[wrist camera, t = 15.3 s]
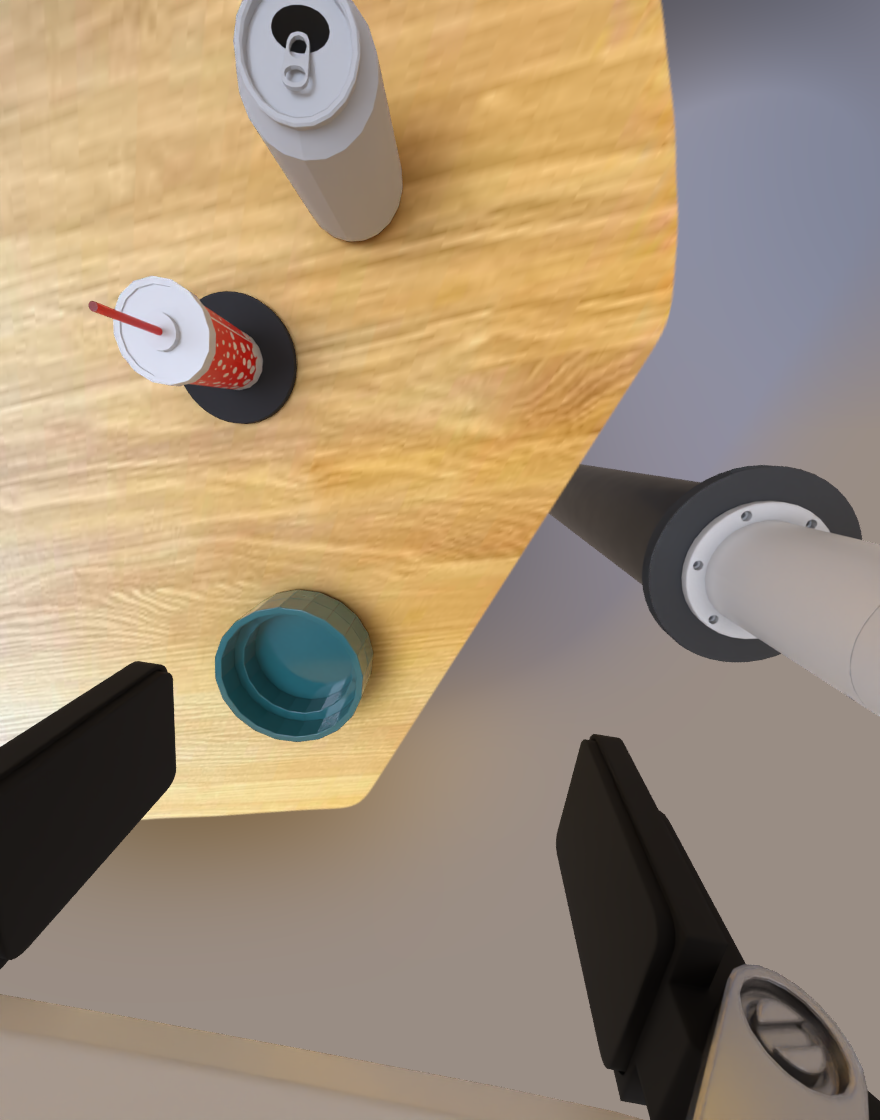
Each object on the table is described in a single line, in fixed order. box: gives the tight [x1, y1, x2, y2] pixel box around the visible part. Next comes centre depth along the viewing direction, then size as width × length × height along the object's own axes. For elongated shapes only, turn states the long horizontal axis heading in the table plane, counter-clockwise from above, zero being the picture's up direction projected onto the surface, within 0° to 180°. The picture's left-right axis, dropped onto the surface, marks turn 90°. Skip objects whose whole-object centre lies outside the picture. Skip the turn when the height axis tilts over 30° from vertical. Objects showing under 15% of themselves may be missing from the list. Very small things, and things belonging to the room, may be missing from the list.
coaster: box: [184, 291, 297, 424], centre depth 35 cm, size 10×10×1 cm
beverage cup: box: [89, 276, 263, 390], centre depth 28 cm, size 6×6×14 cm
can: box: [233, 0, 403, 241], centre depth 26 cm, size 8×8×12 cm
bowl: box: [215, 590, 373, 742], centre depth 40 cm, size 13×13×5 cm
